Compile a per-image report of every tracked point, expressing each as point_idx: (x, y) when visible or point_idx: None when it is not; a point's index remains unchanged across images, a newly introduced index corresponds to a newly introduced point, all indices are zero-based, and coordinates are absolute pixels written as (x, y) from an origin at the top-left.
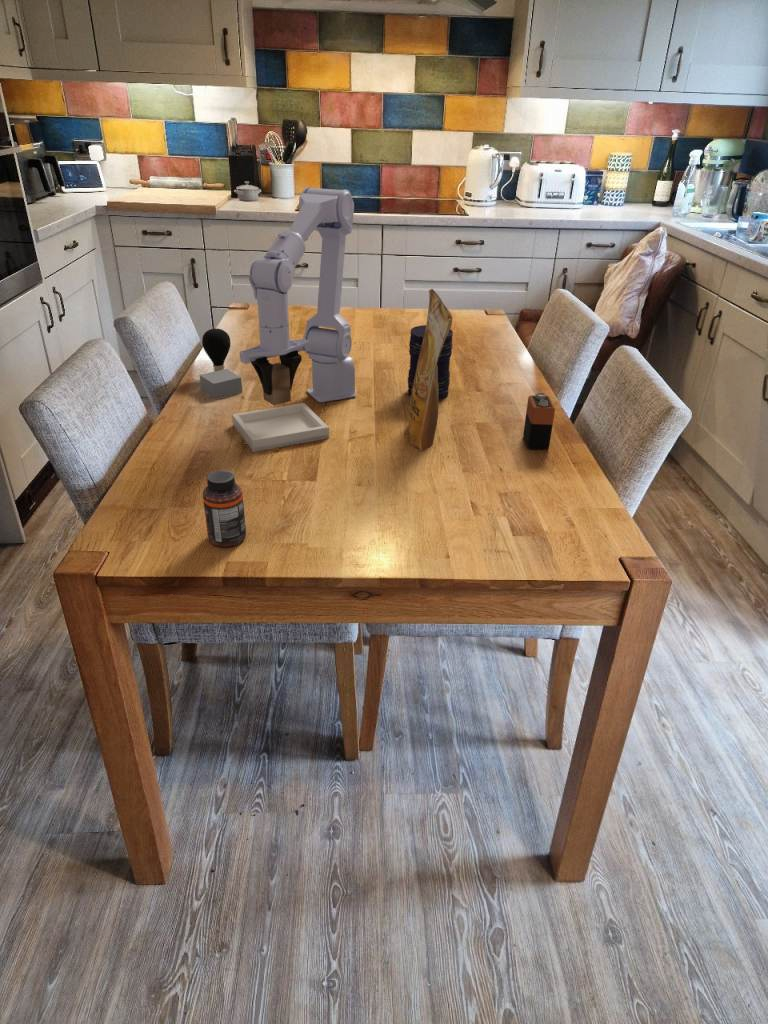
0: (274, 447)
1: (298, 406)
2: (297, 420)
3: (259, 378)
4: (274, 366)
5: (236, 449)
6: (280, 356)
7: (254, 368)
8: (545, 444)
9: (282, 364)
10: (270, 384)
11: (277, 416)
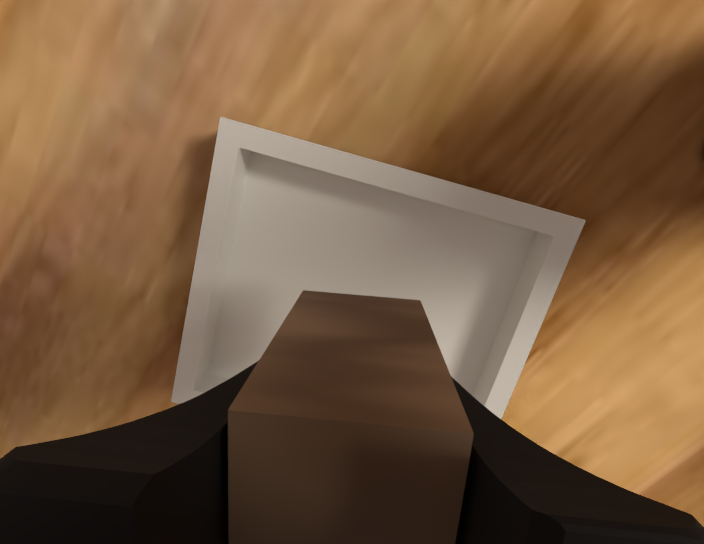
0: None
1: (537, 230)
2: (464, 289)
3: (210, 390)
4: (346, 500)
5: (155, 323)
6: (510, 530)
7: (118, 427)
8: None
9: (459, 506)
10: None
11: (425, 200)
